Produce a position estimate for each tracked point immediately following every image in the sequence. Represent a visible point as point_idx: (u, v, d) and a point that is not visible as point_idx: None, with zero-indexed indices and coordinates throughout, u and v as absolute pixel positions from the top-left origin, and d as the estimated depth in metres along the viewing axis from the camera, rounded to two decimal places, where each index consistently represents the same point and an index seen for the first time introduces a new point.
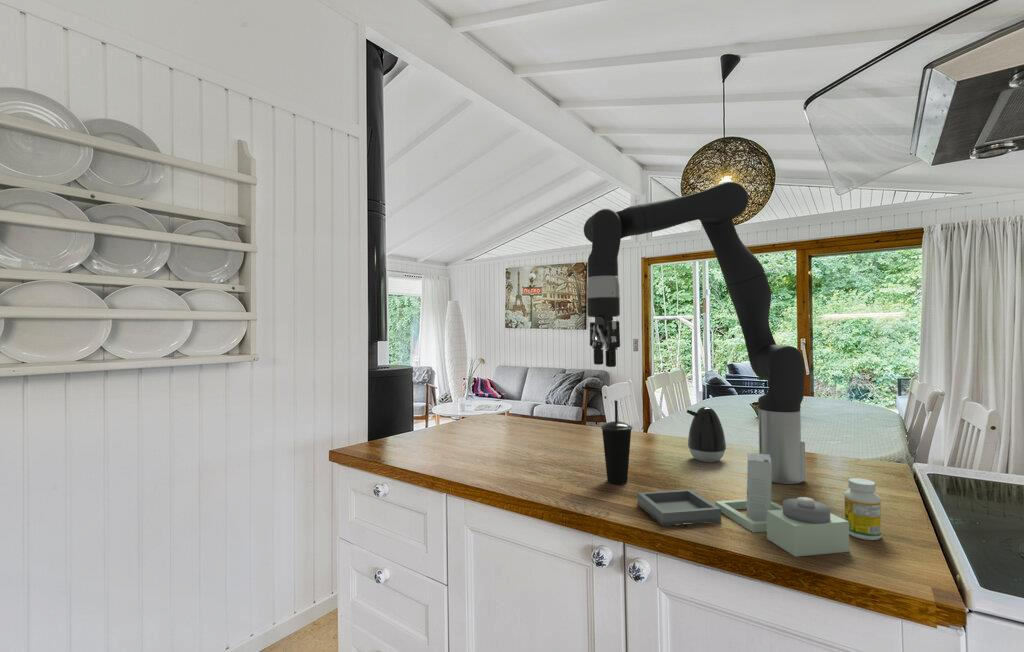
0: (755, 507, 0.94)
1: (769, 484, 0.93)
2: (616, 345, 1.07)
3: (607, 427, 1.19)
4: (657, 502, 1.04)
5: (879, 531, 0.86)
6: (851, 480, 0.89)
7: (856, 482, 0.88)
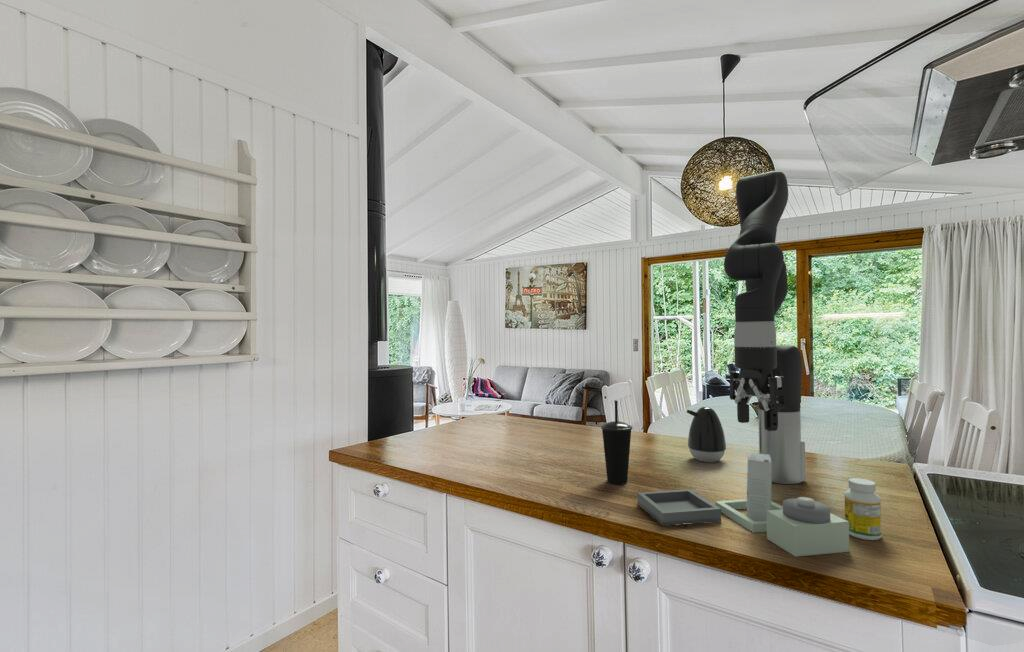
0: (755, 507, 0.94)
1: (769, 484, 0.93)
2: (782, 406, 0.90)
3: (607, 427, 1.19)
4: (657, 502, 1.04)
5: (879, 531, 0.86)
6: (851, 480, 0.89)
7: (856, 482, 0.88)
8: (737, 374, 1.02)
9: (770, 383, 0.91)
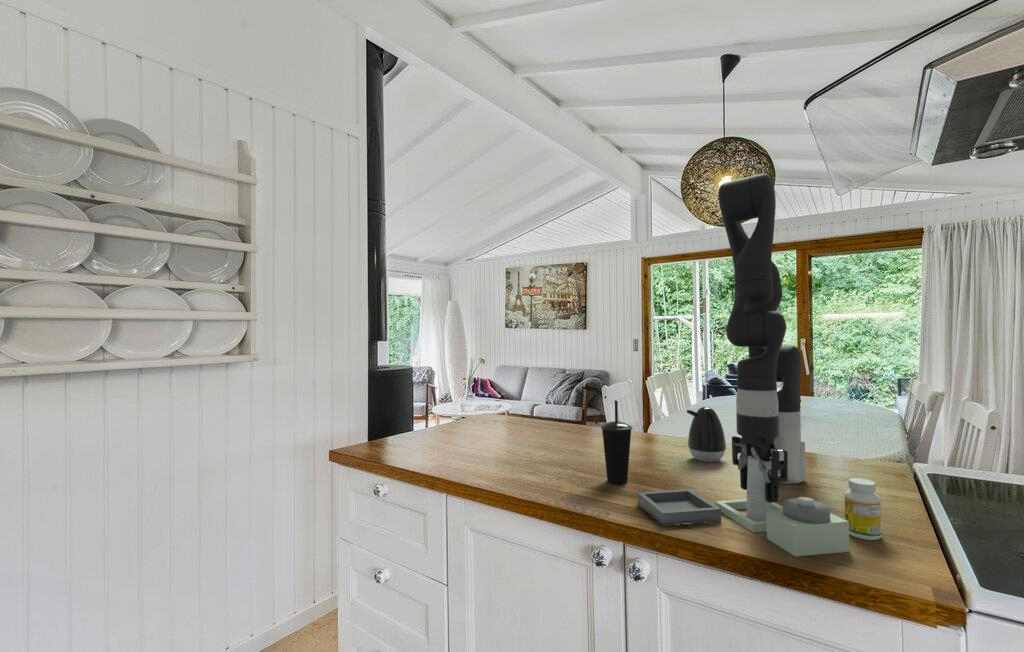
0: (755, 507, 0.94)
1: None
2: (783, 480, 0.90)
3: (607, 427, 1.19)
4: (657, 502, 1.04)
5: (879, 531, 0.86)
6: (851, 480, 0.89)
7: (856, 482, 0.88)
8: (739, 439, 1.02)
9: (772, 456, 0.91)
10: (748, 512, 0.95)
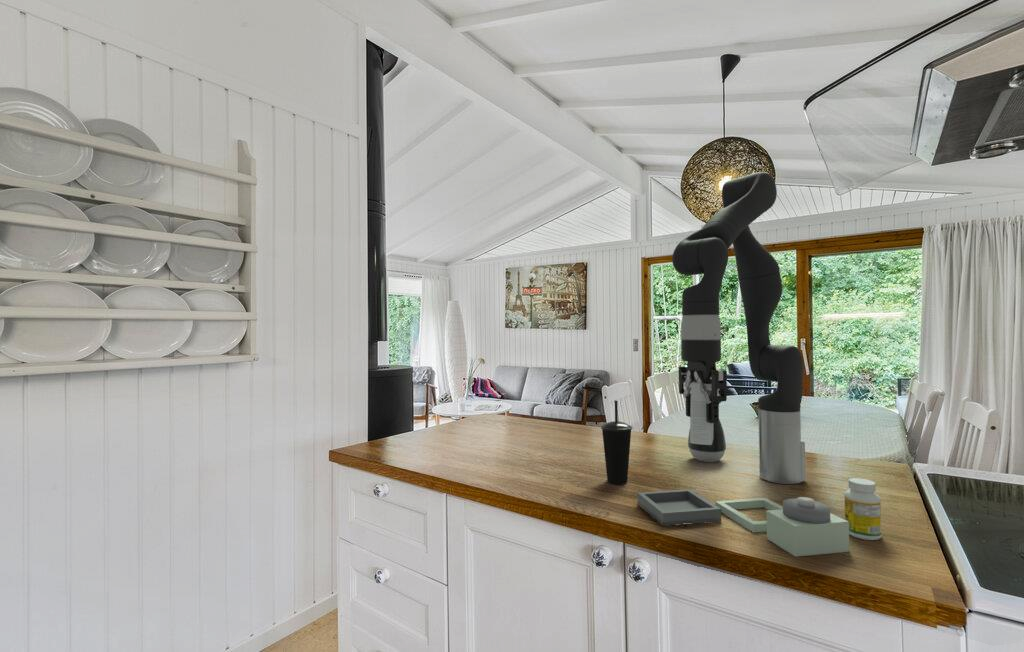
0: (697, 429, 0.96)
1: None
2: (722, 399, 0.92)
3: (607, 427, 1.19)
4: (657, 502, 1.04)
5: (879, 531, 0.86)
6: (851, 480, 0.89)
7: (856, 482, 0.88)
8: (685, 368, 1.04)
9: (712, 376, 0.93)
10: (690, 435, 0.97)
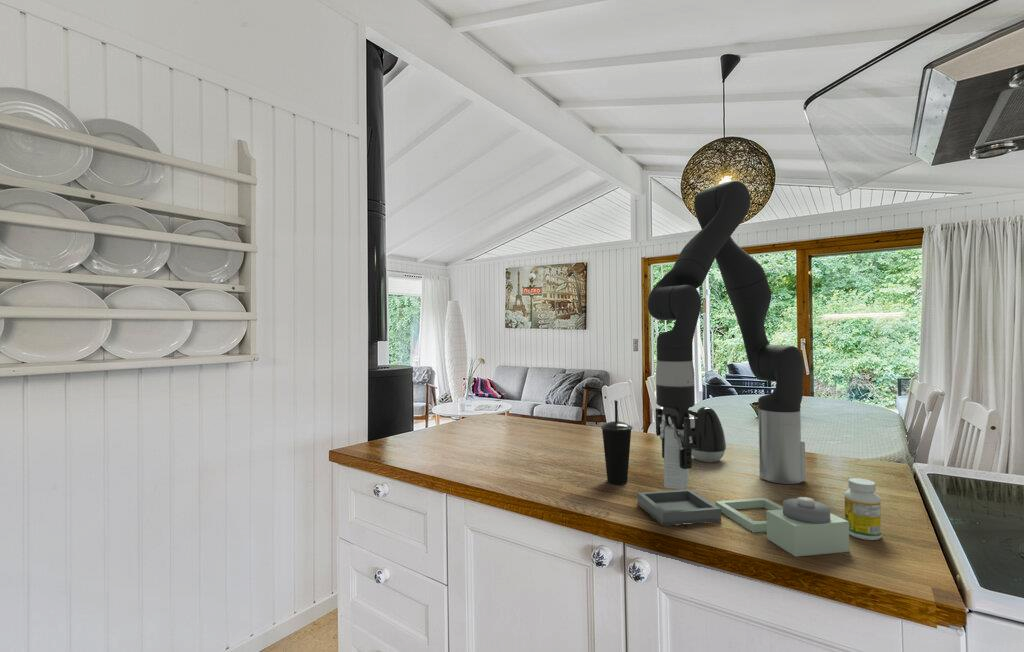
0: (671, 474, 0.98)
1: None
2: (694, 446, 0.94)
3: (607, 427, 1.19)
4: (657, 502, 1.04)
5: (879, 531, 0.86)
6: (851, 480, 0.89)
7: (856, 482, 0.88)
8: (661, 410, 1.05)
9: (684, 424, 0.94)
10: (665, 479, 0.98)
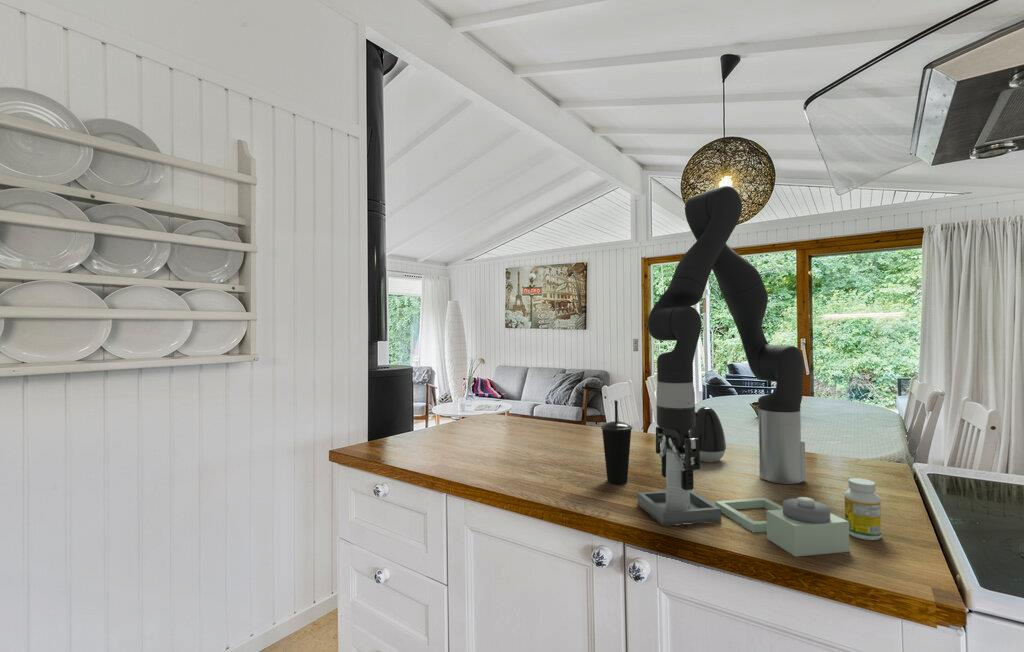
0: (673, 498, 0.97)
1: None
2: (696, 468, 0.93)
3: (607, 427, 1.19)
4: (657, 502, 1.04)
5: (879, 531, 0.86)
6: (851, 480, 0.89)
7: (856, 482, 0.88)
8: (662, 429, 1.05)
9: (685, 445, 0.94)
10: (666, 503, 0.98)
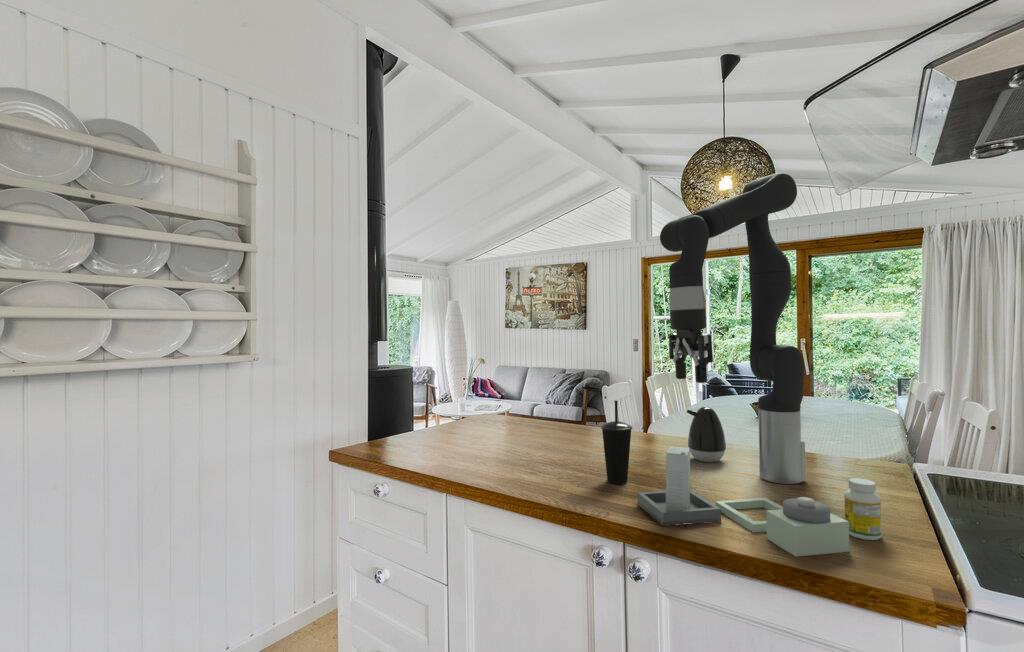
0: (673, 498, 0.97)
1: (685, 476, 0.96)
2: (709, 360, 1.02)
3: (607, 427, 1.19)
4: (657, 502, 1.04)
5: (879, 531, 0.86)
6: (851, 480, 0.89)
7: (856, 482, 0.88)
8: (675, 336, 1.14)
9: (698, 340, 1.02)
10: (666, 503, 0.98)
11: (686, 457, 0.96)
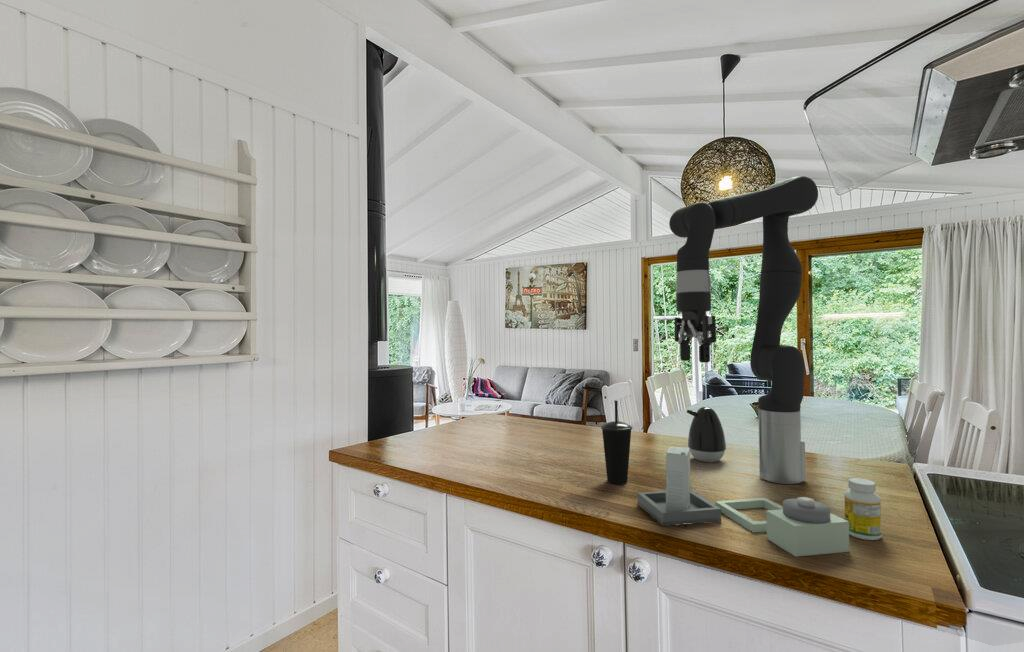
0: (673, 498, 0.97)
1: (685, 476, 0.96)
2: (712, 340, 1.06)
3: (607, 427, 1.19)
4: (657, 502, 1.04)
5: (879, 531, 0.86)
6: (851, 480, 0.89)
7: (856, 482, 0.88)
8: (680, 319, 1.18)
9: (703, 321, 1.06)
10: (666, 503, 0.98)
11: (686, 457, 0.96)
